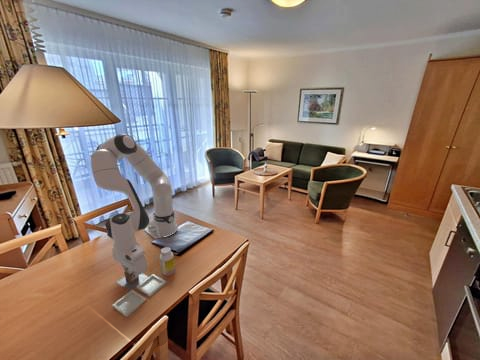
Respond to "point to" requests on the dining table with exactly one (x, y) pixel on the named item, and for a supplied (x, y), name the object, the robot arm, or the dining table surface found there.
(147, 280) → the tray middle
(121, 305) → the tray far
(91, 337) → the dining table surface
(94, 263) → the dining table surface
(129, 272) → the letter cube
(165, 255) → the supplement bottle
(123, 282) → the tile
